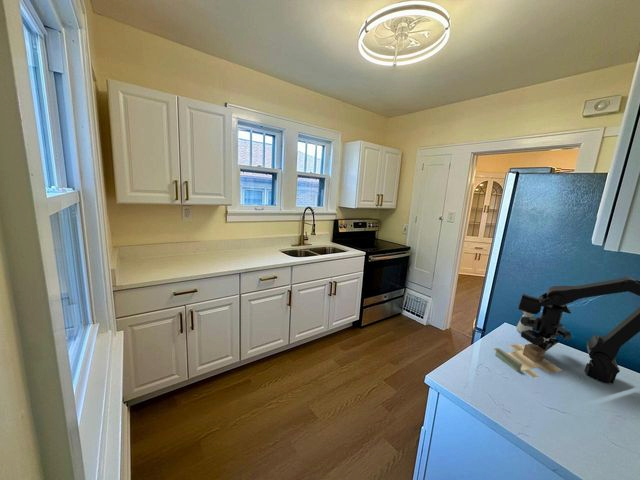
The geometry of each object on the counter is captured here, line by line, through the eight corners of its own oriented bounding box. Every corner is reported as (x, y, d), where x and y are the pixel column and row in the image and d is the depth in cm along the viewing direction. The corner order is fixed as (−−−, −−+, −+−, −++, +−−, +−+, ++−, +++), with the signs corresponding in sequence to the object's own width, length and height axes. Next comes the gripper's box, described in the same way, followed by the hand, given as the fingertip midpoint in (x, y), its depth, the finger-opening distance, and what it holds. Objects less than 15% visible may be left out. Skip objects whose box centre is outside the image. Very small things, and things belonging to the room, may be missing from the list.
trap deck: (519, 346, 111) (521, 337, 110) (562, 372, 97) (565, 363, 96) (486, 352, 106) (488, 343, 105) (526, 381, 92) (529, 371, 91)
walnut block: (531, 352, 105) (533, 343, 104) (542, 360, 101) (545, 350, 100) (522, 354, 104) (525, 344, 103) (534, 362, 100) (536, 352, 99)
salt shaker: (518, 336, 119) (524, 310, 115) (513, 329, 124) (519, 305, 121) (533, 339, 117) (540, 313, 114) (527, 332, 122) (534, 307, 119)
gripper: (545, 306, 110) (537, 338, 113) (512, 310, 105) (503, 344, 109) (577, 320, 99) (566, 354, 103) (541, 325, 94) (531, 362, 98)
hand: (540, 353), depth 104 cm, fingers closed
